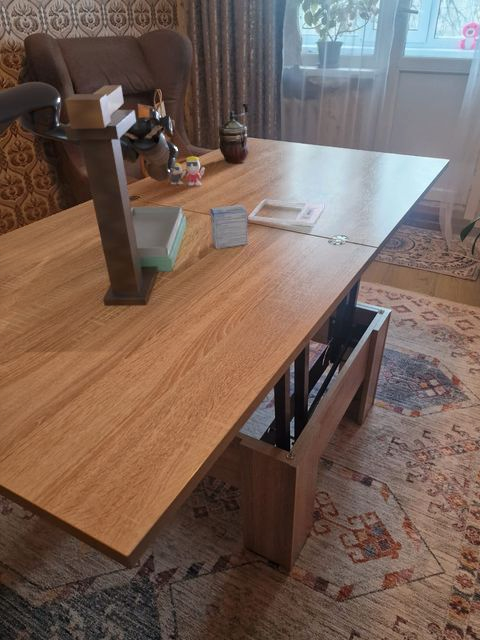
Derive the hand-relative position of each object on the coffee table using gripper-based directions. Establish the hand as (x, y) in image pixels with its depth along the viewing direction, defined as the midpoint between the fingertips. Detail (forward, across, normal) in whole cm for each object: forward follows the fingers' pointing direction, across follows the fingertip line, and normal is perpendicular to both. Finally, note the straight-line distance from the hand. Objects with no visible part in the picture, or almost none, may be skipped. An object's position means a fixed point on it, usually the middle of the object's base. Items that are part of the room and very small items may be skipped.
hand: (130, 113), depth 98 cm
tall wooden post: (+3, 0, -35) cm, 36 cm away
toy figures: (-59, -3, 0) cm, 59 cm away
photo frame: (-34, -34, -14) cm, 50 cm away
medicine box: (-16, -19, -24) cm, 35 cm away
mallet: (+17, 0, -6) cm, 18 cm away
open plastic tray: (-15, 0, -25) cm, 29 cm away
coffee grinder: (-85, -18, +15) cm, 88 cm away
